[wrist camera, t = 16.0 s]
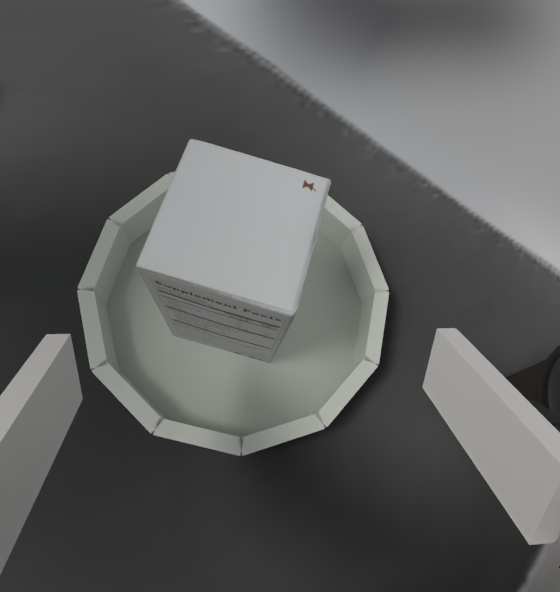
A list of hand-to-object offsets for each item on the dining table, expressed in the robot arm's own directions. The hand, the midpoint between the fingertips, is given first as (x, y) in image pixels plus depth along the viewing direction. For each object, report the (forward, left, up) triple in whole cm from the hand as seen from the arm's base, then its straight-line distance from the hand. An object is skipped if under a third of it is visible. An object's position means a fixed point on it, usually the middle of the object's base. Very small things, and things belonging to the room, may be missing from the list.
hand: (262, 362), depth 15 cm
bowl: (-2, +7, -15) cm, 17 cm away
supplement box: (-2, +6, -14) cm, 16 cm away
